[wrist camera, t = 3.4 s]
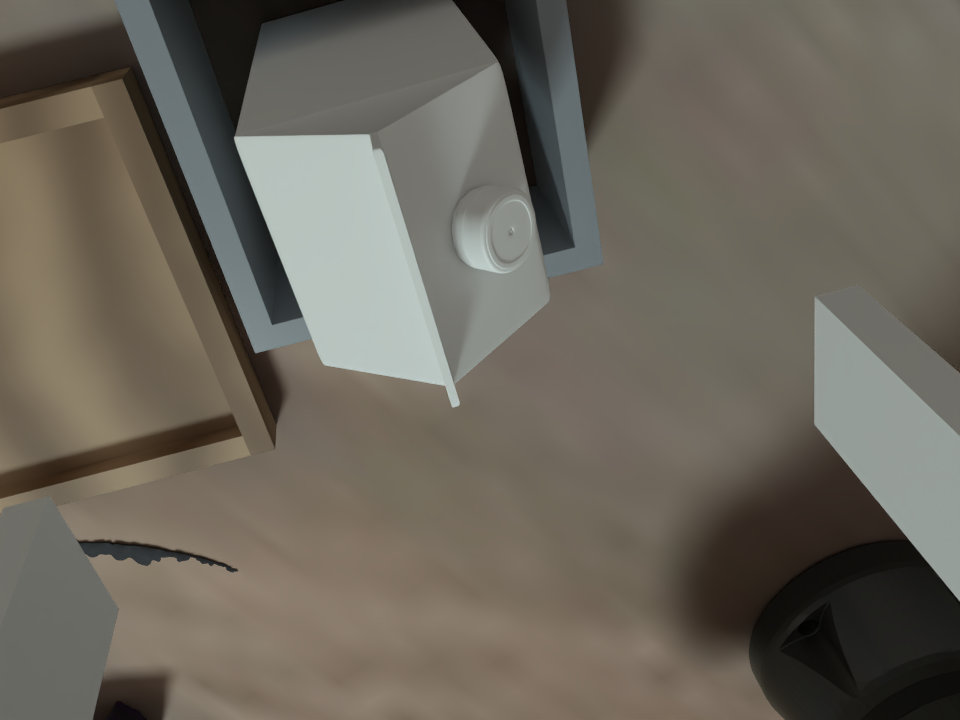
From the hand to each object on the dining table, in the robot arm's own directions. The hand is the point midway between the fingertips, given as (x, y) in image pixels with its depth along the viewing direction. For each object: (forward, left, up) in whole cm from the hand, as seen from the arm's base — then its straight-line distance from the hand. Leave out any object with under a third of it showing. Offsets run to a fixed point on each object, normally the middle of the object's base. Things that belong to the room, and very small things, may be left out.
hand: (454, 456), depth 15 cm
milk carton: (0, 0, -26) cm, 26 cm away
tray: (+19, +6, -26) cm, 33 cm away
